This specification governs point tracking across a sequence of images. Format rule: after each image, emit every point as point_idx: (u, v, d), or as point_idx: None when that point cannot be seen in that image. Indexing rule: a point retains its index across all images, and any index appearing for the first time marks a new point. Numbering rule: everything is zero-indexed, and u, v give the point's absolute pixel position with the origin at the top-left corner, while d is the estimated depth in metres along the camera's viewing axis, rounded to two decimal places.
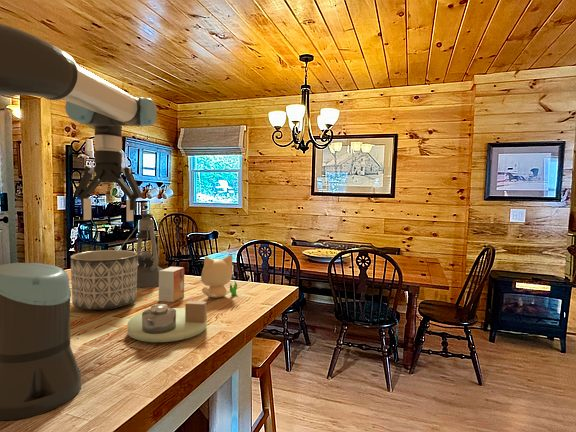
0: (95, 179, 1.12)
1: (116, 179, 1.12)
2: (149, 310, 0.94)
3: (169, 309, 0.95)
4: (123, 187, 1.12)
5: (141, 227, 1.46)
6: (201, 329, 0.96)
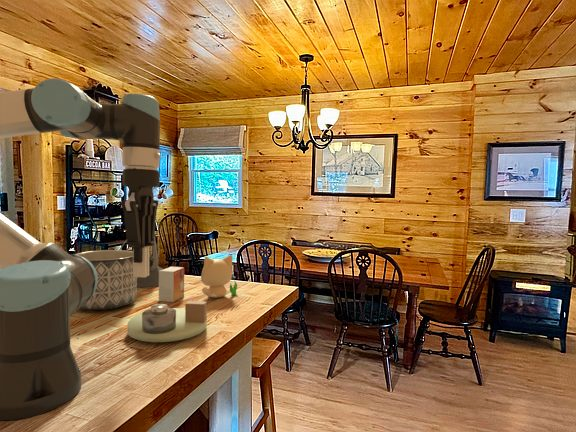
0: None
1: None
2: (149, 310, 0.94)
3: (169, 309, 0.95)
4: None
5: None
6: (201, 329, 0.96)
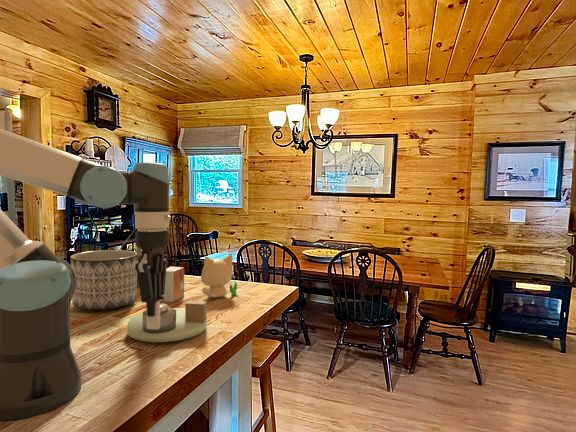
0: None
1: None
2: None
3: (169, 309, 0.95)
4: None
5: None
6: (201, 329, 0.96)
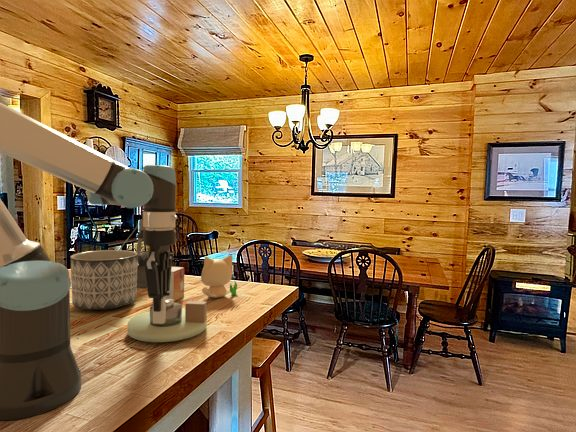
0: None
1: None
2: None
3: (176, 304, 0.99)
4: None
5: (141, 227, 1.46)
6: (201, 329, 0.96)
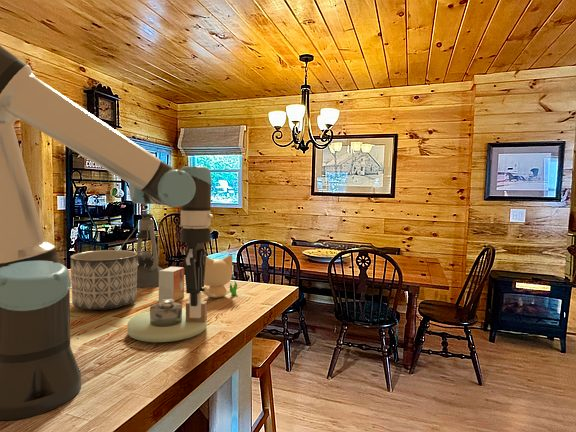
0: None
1: None
2: (156, 304, 0.98)
3: (175, 304, 0.99)
4: None
5: (141, 227, 1.46)
6: (202, 329, 0.96)
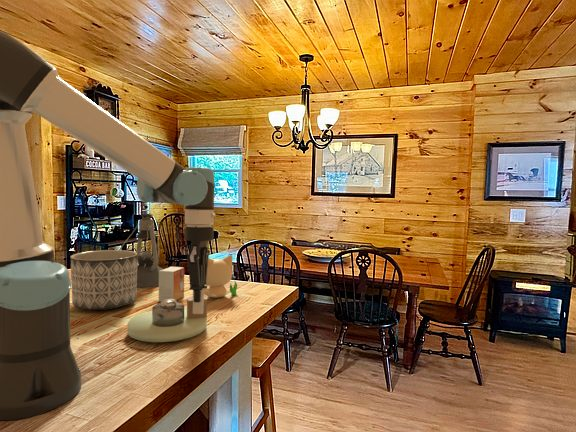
0: None
1: None
2: (156, 306, 0.97)
3: None
4: None
5: (141, 227, 1.46)
6: (206, 323, 1.01)
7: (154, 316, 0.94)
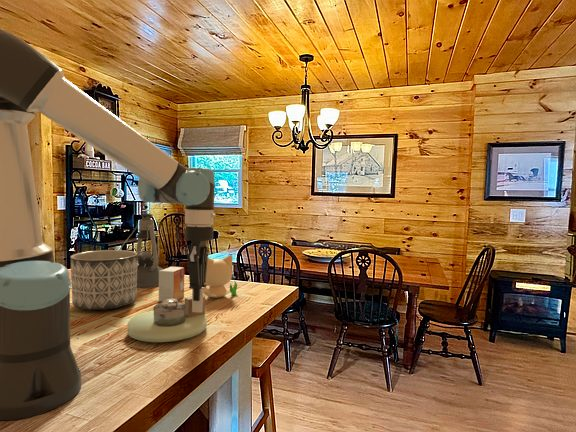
0: None
1: None
2: (157, 307, 0.96)
3: None
4: None
5: (141, 227, 1.46)
6: None
7: (158, 317, 0.94)
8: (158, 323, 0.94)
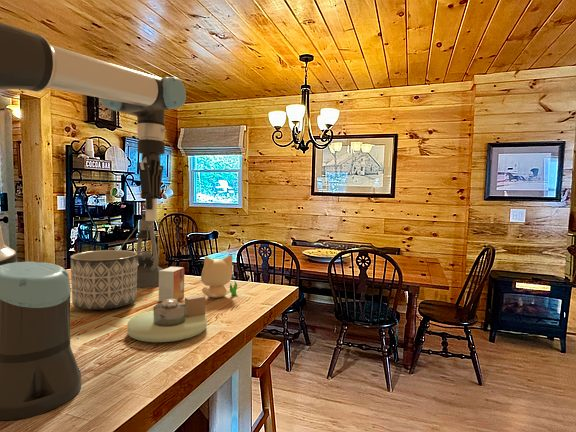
0: None
1: None
2: (156, 307, 0.96)
3: None
4: None
5: (141, 227, 1.46)
6: None
7: (158, 317, 0.94)
8: (158, 323, 0.94)
